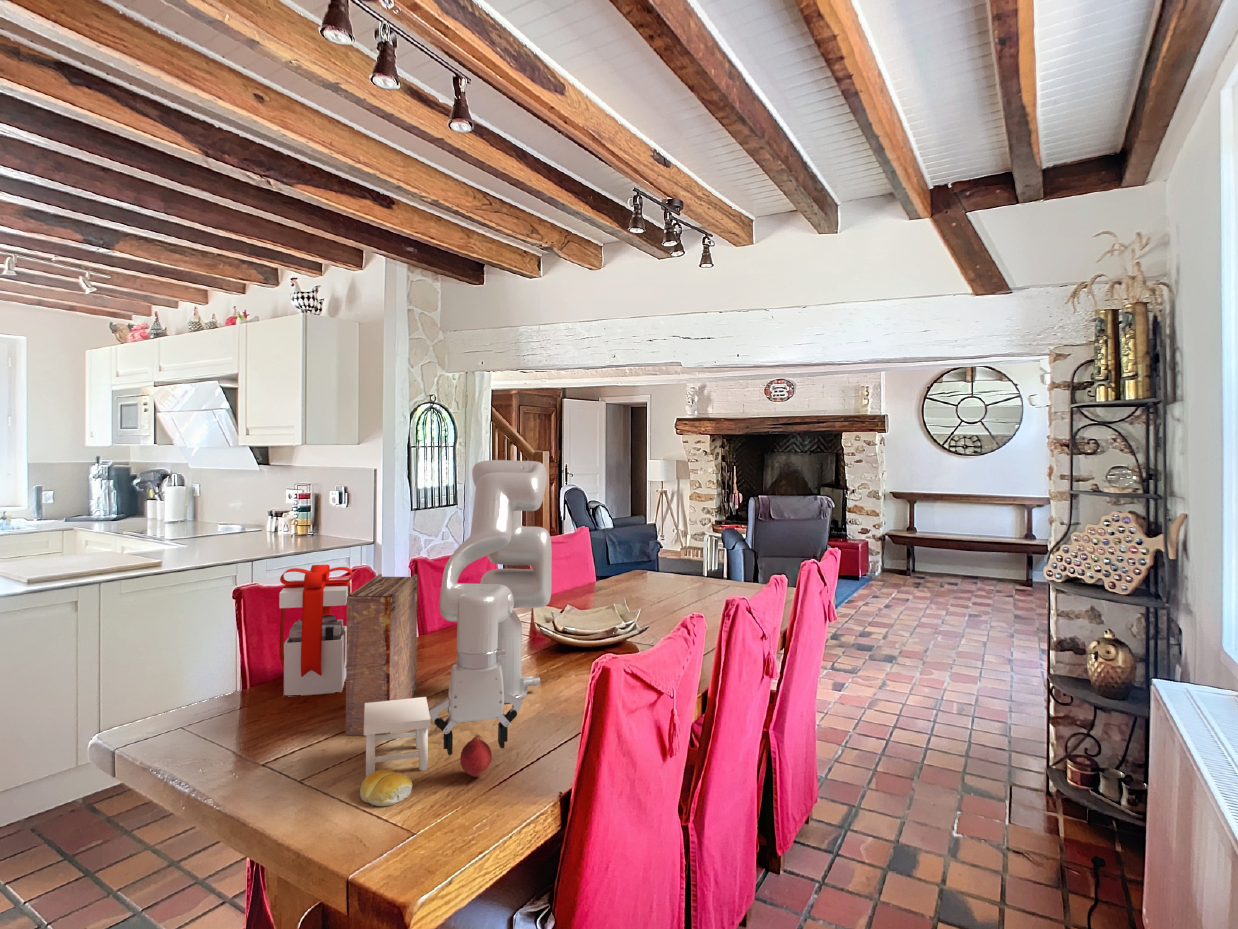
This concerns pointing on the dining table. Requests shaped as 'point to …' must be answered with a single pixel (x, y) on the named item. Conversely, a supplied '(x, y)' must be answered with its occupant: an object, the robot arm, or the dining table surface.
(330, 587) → the gift wrap
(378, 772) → the bread roll
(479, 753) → the onion
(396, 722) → the stool
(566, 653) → the dining table surface
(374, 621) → the book
